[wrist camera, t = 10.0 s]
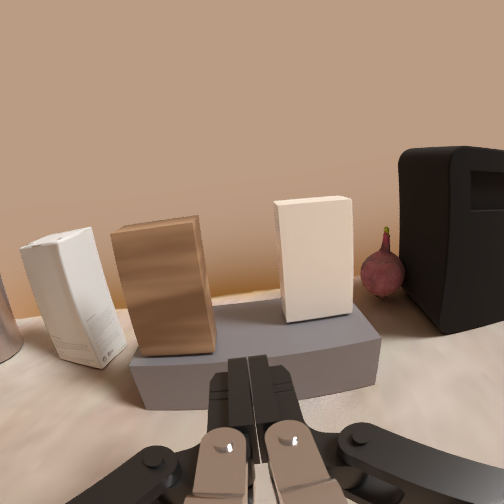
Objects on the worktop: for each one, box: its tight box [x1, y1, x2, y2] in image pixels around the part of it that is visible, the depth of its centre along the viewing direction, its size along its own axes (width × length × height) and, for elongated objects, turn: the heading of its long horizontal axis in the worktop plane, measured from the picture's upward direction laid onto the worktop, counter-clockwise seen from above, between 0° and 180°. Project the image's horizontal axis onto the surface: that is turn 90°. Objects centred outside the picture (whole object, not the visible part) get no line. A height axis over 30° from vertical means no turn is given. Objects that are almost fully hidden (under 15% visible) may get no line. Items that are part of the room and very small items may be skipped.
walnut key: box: [110, 215, 217, 356], centre depth 22 cm, size 3×6×10 cm, turn 93°
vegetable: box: [361, 227, 405, 298], centre depth 37 cm, size 6×6×10 cm
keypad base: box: [129, 298, 381, 410], centre depth 27 cm, size 10×20×5 cm, turn 93°
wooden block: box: [273, 196, 353, 322], centre depth 26 cm, size 3×6×10 cm, turn 93°
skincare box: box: [20, 227, 127, 369], centre depth 29 cm, size 8×6×15 cm
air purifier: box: [398, 146, 504, 334], centre depth 30 cm, size 20×15×20 cm
